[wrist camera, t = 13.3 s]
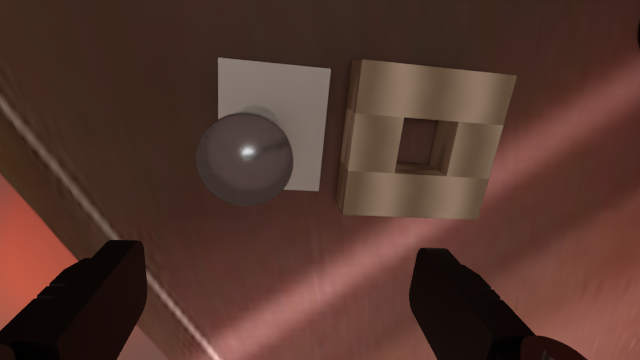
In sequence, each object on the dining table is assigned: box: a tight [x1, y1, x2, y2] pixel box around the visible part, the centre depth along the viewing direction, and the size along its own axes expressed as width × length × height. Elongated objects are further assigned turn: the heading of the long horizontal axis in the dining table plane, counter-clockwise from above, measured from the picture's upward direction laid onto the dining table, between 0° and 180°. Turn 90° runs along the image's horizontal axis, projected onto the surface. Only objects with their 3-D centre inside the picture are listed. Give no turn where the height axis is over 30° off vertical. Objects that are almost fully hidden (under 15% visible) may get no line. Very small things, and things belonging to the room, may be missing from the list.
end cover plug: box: [196, 105, 293, 206], centre depth 26 cm, size 6×6×11 cm
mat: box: [218, 58, 331, 191], centre depth 32 cm, size 10×12×1 cm
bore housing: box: [336, 59, 517, 220], centre depth 33 cm, size 14×14×4 cm
